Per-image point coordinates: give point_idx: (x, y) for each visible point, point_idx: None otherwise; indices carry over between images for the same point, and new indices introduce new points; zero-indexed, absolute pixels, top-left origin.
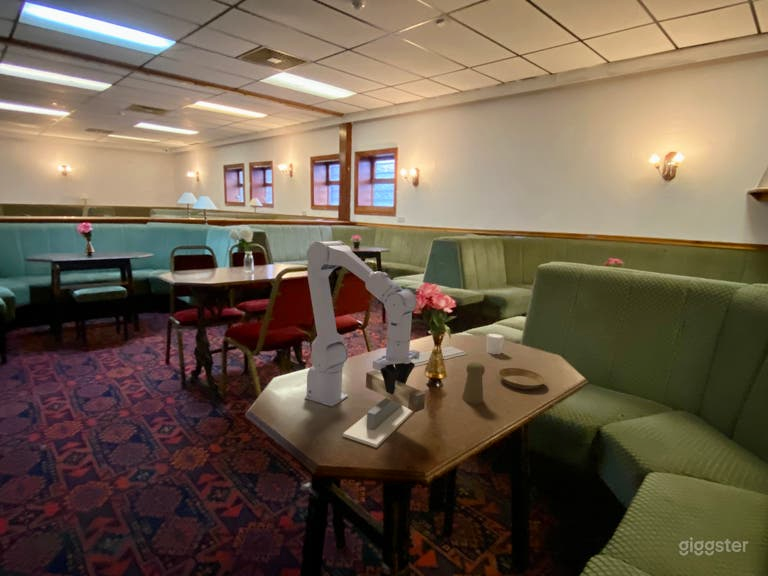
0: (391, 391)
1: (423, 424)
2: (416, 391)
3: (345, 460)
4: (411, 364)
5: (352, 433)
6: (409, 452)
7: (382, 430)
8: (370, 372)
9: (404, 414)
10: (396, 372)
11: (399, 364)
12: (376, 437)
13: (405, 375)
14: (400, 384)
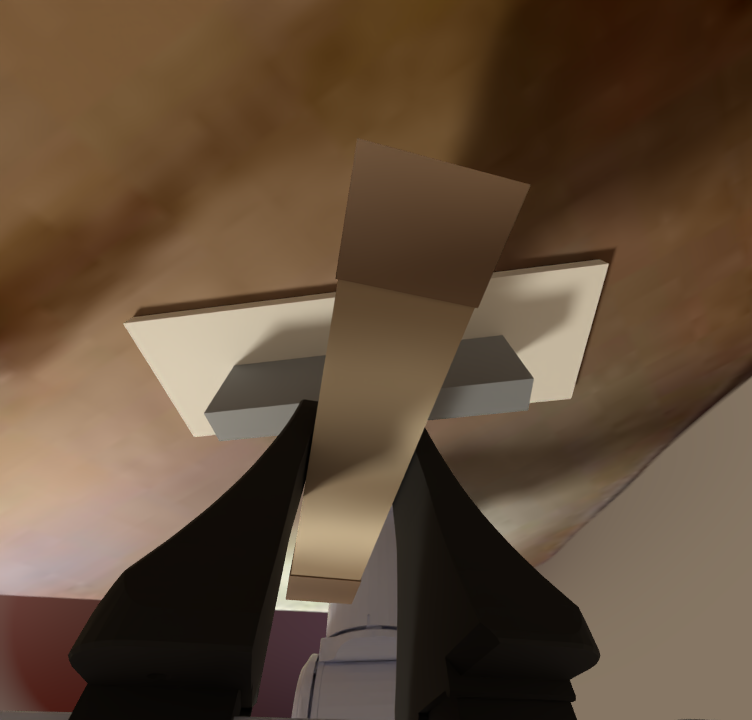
0: (426, 433)
1: (278, 198)
2: (399, 263)
3: (724, 298)
4: (162, 658)
5: (560, 377)
6: (584, 94)
7: (482, 310)
8: (334, 597)
9: (292, 315)
10: (518, 607)
11: (260, 663)
12: (550, 297)
13: (291, 501)
14: (355, 443)
